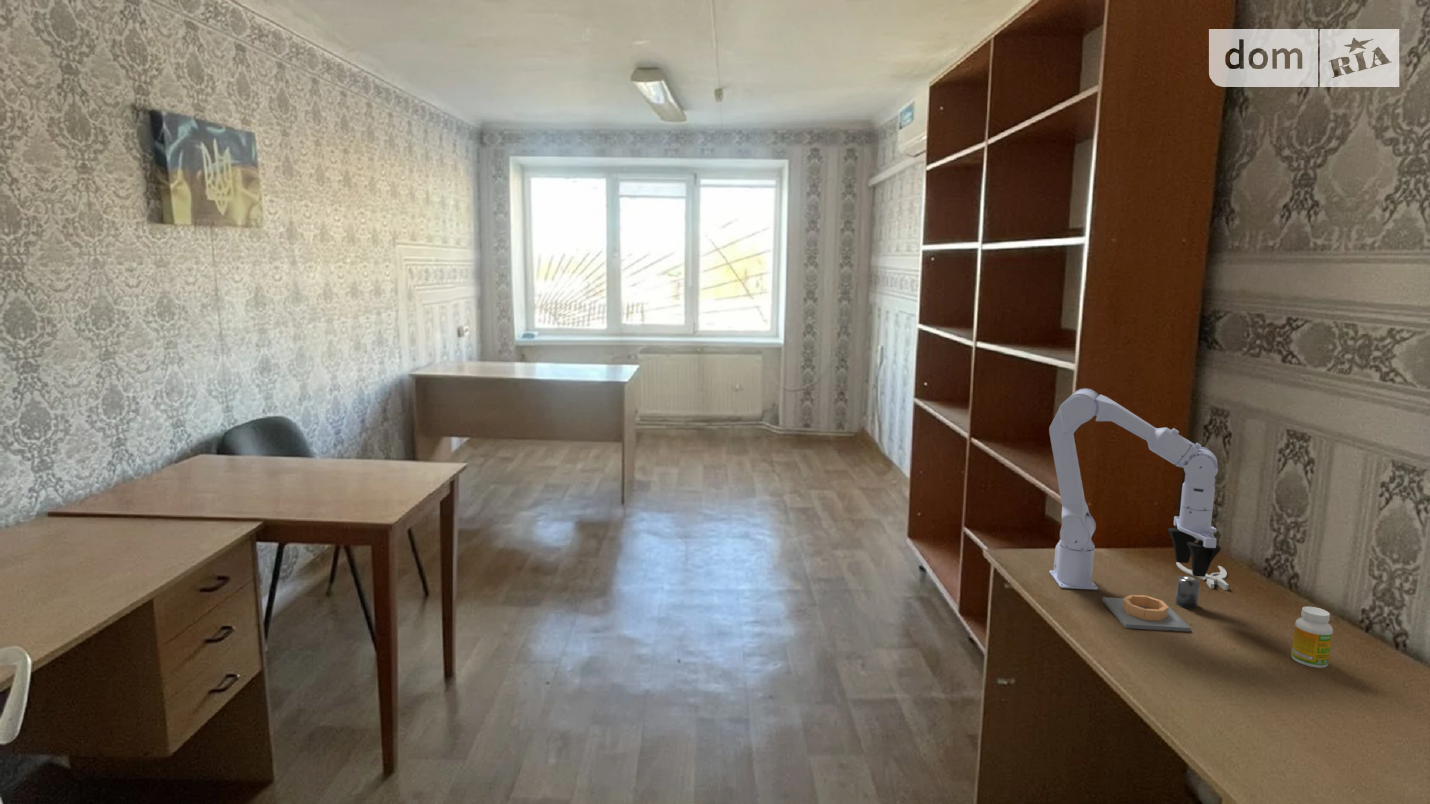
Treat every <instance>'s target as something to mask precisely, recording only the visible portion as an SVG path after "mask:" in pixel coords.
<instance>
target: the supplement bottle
mask: <svg viewBox="0 0 1430 804" xmlns="http://www.w3.org/2000/svg"><path fill="white" fill-rule="evenodd" d="M1300 614H1301V615H1300V616H1301V617H1299V618H1297V619H1296V620H1295V623H1294V631H1293V638H1292V646H1291V652H1290V653H1291V655H1290V657H1291V658H1292V659H1293V660H1294V662H1297V663H1298V664H1301V665H1304V666H1307V667H1310V668H1315V669H1316V668H1317V669H1323V668H1327V667H1328V666H1329V663H1330V662H1329V661H1330V656H1331V655H1330V654H1331V647H1332V642H1333V634H1334V629H1333V627H1332V625H1331V624H1330V623H1329V622H1330V618H1331V614H1330V612H1328V611H1327V610H1325V609H1323V608H1320V607H1316V606H1303V607H1302V609H1301V613H1300Z"/></svg>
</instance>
